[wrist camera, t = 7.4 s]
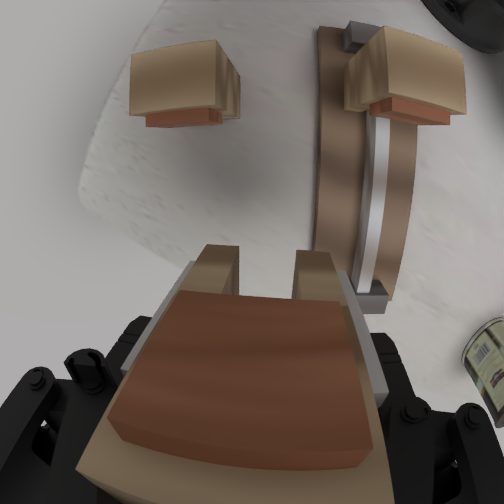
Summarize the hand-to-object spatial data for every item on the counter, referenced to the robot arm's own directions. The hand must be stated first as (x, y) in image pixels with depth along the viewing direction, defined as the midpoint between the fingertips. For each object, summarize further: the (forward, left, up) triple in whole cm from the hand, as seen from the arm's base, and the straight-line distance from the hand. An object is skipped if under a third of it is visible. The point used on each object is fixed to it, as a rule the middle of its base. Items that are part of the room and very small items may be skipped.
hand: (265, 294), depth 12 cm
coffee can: (+19, +35, -15) cm, 43 cm away
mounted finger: (-11, +8, -13) cm, 19 cm away
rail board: (-4, +8, -14) cm, 17 cm away
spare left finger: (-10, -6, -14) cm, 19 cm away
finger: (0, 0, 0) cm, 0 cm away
